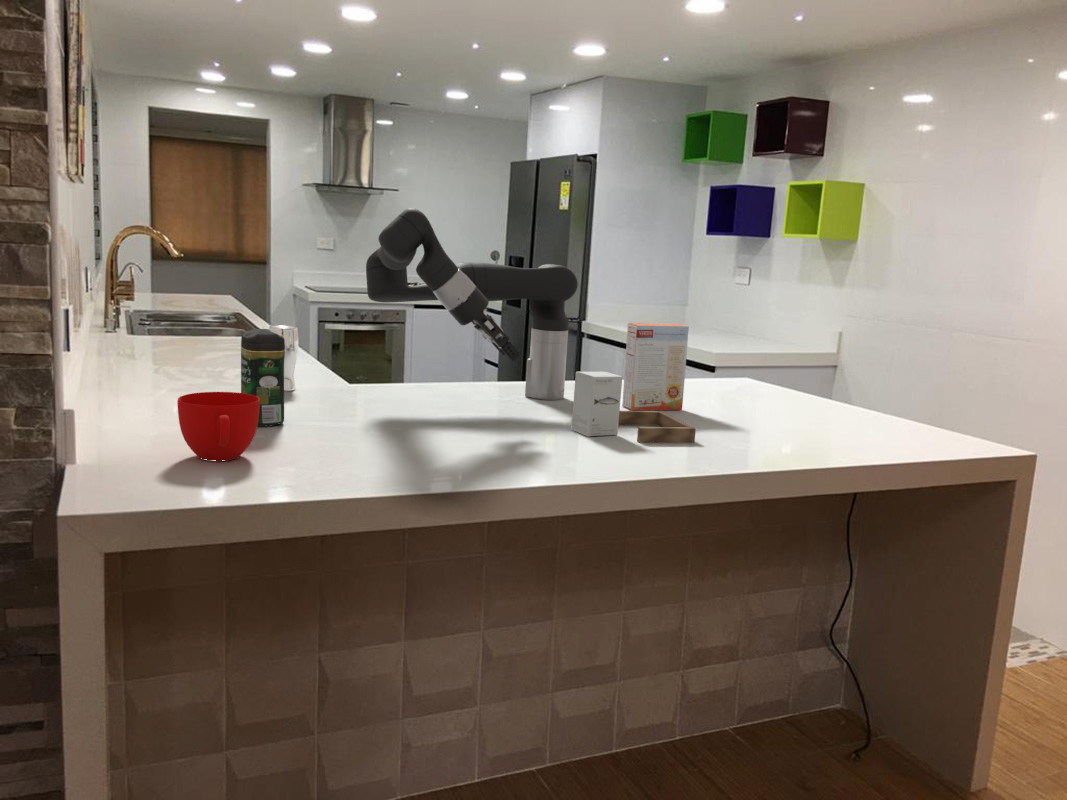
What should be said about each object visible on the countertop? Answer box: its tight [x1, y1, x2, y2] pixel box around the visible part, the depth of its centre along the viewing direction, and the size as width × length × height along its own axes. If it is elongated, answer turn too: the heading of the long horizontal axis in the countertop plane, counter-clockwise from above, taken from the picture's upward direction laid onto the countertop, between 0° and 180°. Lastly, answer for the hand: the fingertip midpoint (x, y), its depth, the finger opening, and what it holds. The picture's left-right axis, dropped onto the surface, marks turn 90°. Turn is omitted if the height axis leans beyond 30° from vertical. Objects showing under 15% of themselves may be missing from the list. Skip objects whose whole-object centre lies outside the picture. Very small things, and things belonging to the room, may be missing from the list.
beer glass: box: [268, 325, 299, 392], centre depth 218 cm, size 7×7×15 cm
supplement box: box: [571, 371, 623, 438], centre depth 191 cm, size 7×7×13 cm
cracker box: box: [621, 322, 690, 411], centre depth 223 cm, size 14×6×21 cm, turn 109°
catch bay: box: [618, 410, 697, 444], centre depth 195 cm, size 12×18×3 cm
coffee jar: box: [240, 328, 285, 428], centre depth 180 cm, size 10×8×19 cm
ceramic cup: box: [177, 391, 260, 462], centre depth 151 cm, size 13×17×10 cm
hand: (511, 355), depth 189 cm, fingers open, 8 cm apart
